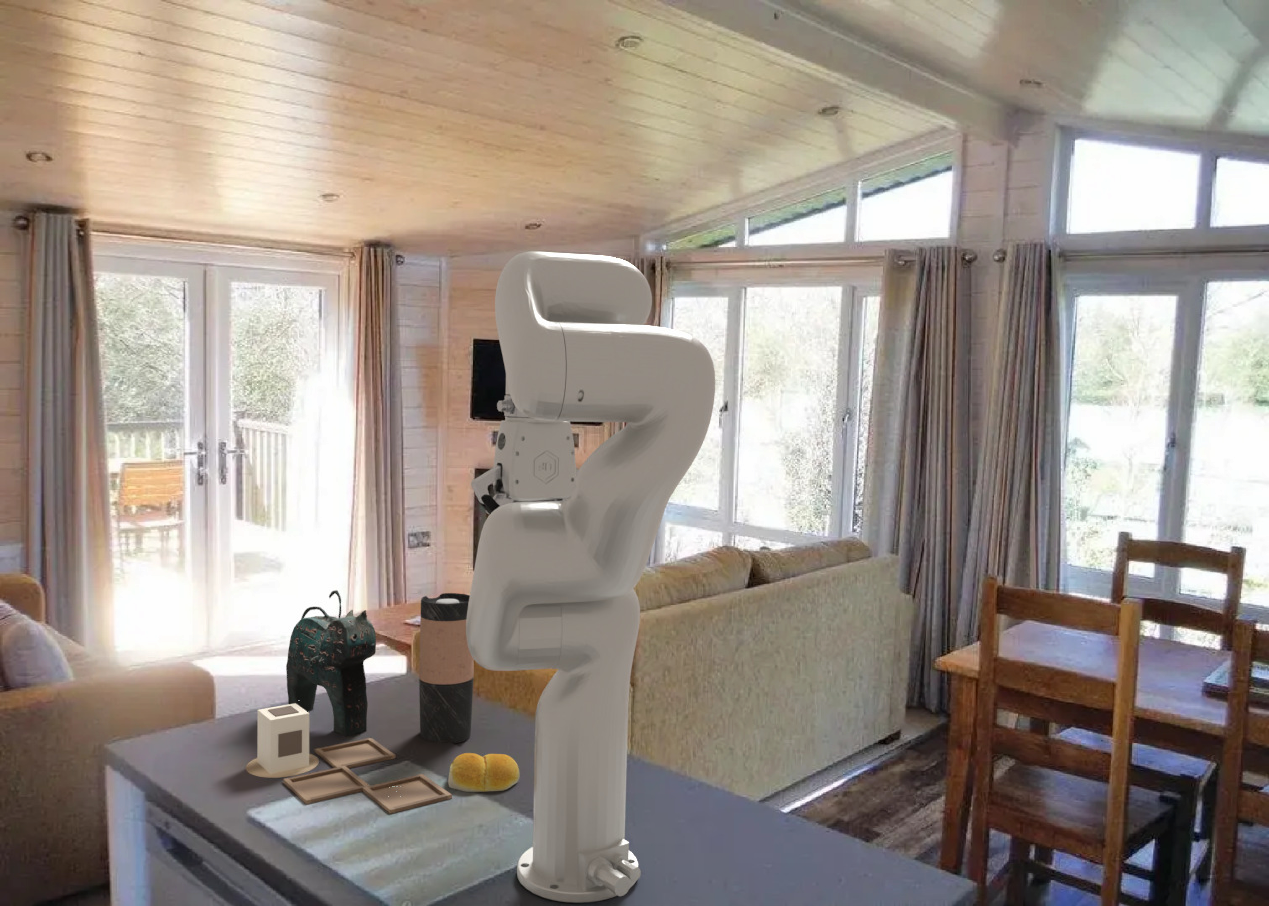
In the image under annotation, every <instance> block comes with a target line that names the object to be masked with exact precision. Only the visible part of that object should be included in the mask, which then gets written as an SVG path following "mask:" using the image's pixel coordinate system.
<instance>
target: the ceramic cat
mask: <svg viewBox="0 0 1269 906" xmlns="http://www.w3.org/2000/svg"><path fill="white" fill-rule="evenodd" d="M334 595H336V596H337V598H338V603H339V605H338V606H339V609H338V610H339V611H338V618H337V617H335V616H332V615H329V614H328V613H327V611H325V610H324V608H322V607H320V606H310V607H308V608H306V609H305V610H304V612H303V613H302V615H301V618H300V620H299V621H298V622H297V623H296V624H295V626H294V627H293V629H292V632H291V635H290V640H289V645H288V652H287V661H286V666H285V667H286V688H287V690H286V691H287V698H288V700H287V701H288V702H287V705H288V704H294V703H296V704H297V705H299V706H300V707H301V708H303V709H304V710H306V711H308V712H310V711H309V710H311V711H313V710H314V706H315V701H316V695H317V690H318V689H317V688H318V686H320V687H323V688H324V689H325V691H326V693H327V696H328V699H329V702H330V704H331V708H332V712H333V732H335V733H337V734H340V735H342V736H344V737H348V736H352V735H356V734H361V733H364V732H367V729H368V727H367V722H368V720H367V719H368V718H367V717H368V716H367V715H368V706H369V704H368V703H369V702H368V695H367V678H366V673H365V666H364V662H365V661H366V660H368V659H369V658H371V657H373V656H374V655H375V654H376V653H377V651H376V650H377V649H376V647H377V636H376V630H375V628H374V627H375V626H374V625H373V623H372V622H371V620H370V619H368V615H367V610H363V611H362V612H361V613H360V614H359V615H357V616H355V615H354V610H353V609H351V610H349V611H348V612H347V614H346V615H345V616H344V617H342V605H341V604H342V597H341V595H340V593H339V591H338V590H337V589H336V590H335V589H334V590H332V591H331V592H330V594H329V596H328V597H329V599H331V598H332V596H334ZM315 610H319V611H320V612H321V613H322V614H323V615H316V616H311V617H306V615H308V613H309V612H310V611H315ZM298 700H300V701H298ZM312 709H313V710H312Z"/></svg>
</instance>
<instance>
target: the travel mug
mask: <svg viewBox="0 0 1269 906" xmlns="http://www.w3.org/2000/svg"><path fill="white" fill-rule="evenodd" d="M469 597H470V594H464V593H457V592H456V593H454V592H445V593H441V594H440V595H439V596H437V597H431V598H430V597H428V595H424V596H423V597H421V599H420V619H419V620H420V624H419V626H420V629H419V630H420V632H419V667H418V668H419V671H418V684H419V685H418V686H419V693H418V694H419V733H420V734H419V735H420V737H421V738H422V739H423V740H426V741H429V742H434V743H435V742H436V743H452V744H454V745H455V744H459V743H462V742H465V741H467V740H469V738H470V737H471V734H472V717H473V694H474V676H475V675H474V674H475V673H474V668H475V667H474V666H475V665H474V661H475V660H474V659H473V657H472V655H471V653H470V651H469V648H468V644H467V636H466V619H467V610H468V603H469Z"/></svg>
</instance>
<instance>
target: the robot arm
mask: <svg viewBox="0 0 1269 906" xmlns="http://www.w3.org/2000/svg"><path fill="white" fill-rule="evenodd" d="M652 295H653V293H652V290H651V287H650V284H649V282H648V279H647V278H646V277H645V275H644V274H643V273H642V271H640V270H639V269H638V268H637V267H636V266H634V265H633V264H631V263H630V262H629V261H626V260H623V259H621V258H618V257H617V258H616V257H613V256H608V255H596V254H580V253H567V252H550V251H549V252H548V251H523V252H522V253H519V254H516V255H515V256H513V257H512V258H510V259H509V261H508V262H507V263H506V264H505V265H504V267H503V269H502V271H501V273H500V275H499V277H498V280H497V285H496V290H495V297H494V298H495V299H494V311H495V313H494V315H495V323H496V329H497V330H496V331H497V335H498V340H499V345H500V350H501V354H502V360H503V364H504V370H505V395H504V399H503V400H498V402H497V403H496V407H497V408H496V409H497V410H498V412H503V413H504V415H503V416H504V418H505V419H504V420H501V421H500V424H499V427H498V432H497V437H496V443H495V449H494V450H495V451H494V457H493V458H494V459H493V467H492V468H490V469H489V470H487V471H485V472H484V473H483V474H481V475H478V476H477V477H476V478H474V479H472V481H471V482H470V485H471V487H472V490H473V493H474V494H475V496H476V500H477V502H478V504H480V506H481V507H482V508H484V510H485V512H486V514H488V517H487V518H486V519H485V521H484V523H483V526H482V529H481V532H480V536H479V537H480V538H479V541H478V545H477V551H476V558H475V564H474V569H473V575H472V582H471V586H470V593H469V595H470V597H469V603H468V610H467V619H466V636H467V644H468V648H469V651H470V653H471V655H472V657H473V659H474V661H475V663H477V664H478V665H479V666H480V667H481V668H483V669H486V670H489V671H496V672H498V671H499V672H509V671H510V672H511V671H515V672H516V671H529V670H531V671H533V670H547V669H553V670H556V671H555V673H554V674H553V675H552V677H551V678H550V680H549V681H548V682H547V685H546V686H545V688H544V689H543V691H542V693H541V695H540V697H539V700H538V701H537V702H538V703H537V706H536V710H535V721H534V722H535V725H534V728H535V729H534V764H533V766H534V767H533V768H534V769H533V773H534V774H533V775H534V776H533V821H532V822H533V824H532V825H533V826H532V846H531V847H530V848H528V849H527V850H525V851H524V852H523V854H521V856H520V857H519V859H518V861H517V866H516V873H517V879H518V881H519V883H520V884H521V885H522V886H523V888H525V889H526V890H528V891H529V892H531V893H532V894H534V895H536V896H539V897H542V898H544V899H548V900H551V901H557V902H564V903H574V904H575V903H576V904H577V903H578V904H579V903H580V904H581V903H594V902H600V901H601V902H602V901H604V900H608V899H612V898H614V897H617V896H618V897H622V896H625V895H626V894H628V892H629V890H630V889H631V888H632V887H633V886H634V885H635V883H636V882H637V881H638V880H639V879H640V877H641V875H642V871H641V869H640V868H639V867H640V866H639V865H640V864H639V861H638V859H637V857H636V855H635V854H634V853H633V852H632V851H630V842H629V840H626V839H625V836H626V835H625V834H626V802H627V801H626V800H627V799H626V798H627V795H626V794H627V764H628V762H627V761H628V760H627V759H628V726H629V703H630V702H629V700H630V698H629V697H630V687H631V675H632V667H633V661H634V657H635V650H636V646H637V641H638V635H639V630H640V623H641V607H640V602H639V601H640V600H639V597H638V595H637V593H636V591H635V589H634V588H635V587H637V584H638V583H639V582H640V580H641V577H642V576H643V573H644V571H645V569H646V566H647V564H648V560H649V558H650V554H651V553H652V549H653V546H654V543H655V540H656V538H657V534H658V532H659V529H660V526H661V523H662V519H663V516H664V513H665V509H666V507H667V505H668V503H669V500H670V499H671V497H672V495H673V493H674V492H675V491H676V488H677V487H678V486H679V484H680V482H681V481H682V480H683V478H684V477H685V476H686V474H687V473H688V471H689V469H690V467H692V465H693V462H694V461H695V459H696V458H697V456H698V454H699V452H700V450H701V448H702V445H703V443H704V441H705V438H706V436H707V434H708V431H709V427H710V424H711V420H712V415H713V410H714V404H715V395H716V394H715V393H716V371H715V365H714V362H713V359H712V355H711V354H710V352H709V350H708V349H707V347H706V346H705V345H704V344H703V343H702V342H701V341H700V340H699V339H697V338H696V337H694V336H692V335H690V334H688V333H686V332H683V331H679V330H675V329H672V328H668V327H661V326H653V325H645V324H646V322H647V321H648V319H649V316H650V314H651V310H652V305H653V296H652ZM571 422H576V423H577V422H579V423H580V422H582V423H583V422H584V423H585V422H586V423H590V422H591V423H592V422H593V423H627V424H626V425H625V426H624V427H623V428H621V429H620V430H619V431H617V432H616V433H614V434H613V435H612V436H610V437H608V438H607V439H606V440H604V441H603V442H602V443H601V444H599V446H598V447H597V448H596V449H595V450H594V451H593V452H591V454H590V455H589V456H588V457H587V458H586V459H585V461H584V462H583V463H582V465H581V467H580V468H579V469H578V468H577V466H576V465H577V462H576V461H577V460H576V450H575V442H574V435H573V430H572V425H571ZM491 484H492V485H493V487H492V488H493V493H494V495H493V497H492V496H491V494H490V493H489V490H488V488H489V486H490V485H491ZM552 500H553V501H552ZM515 501H516V502H515Z"/></svg>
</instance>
